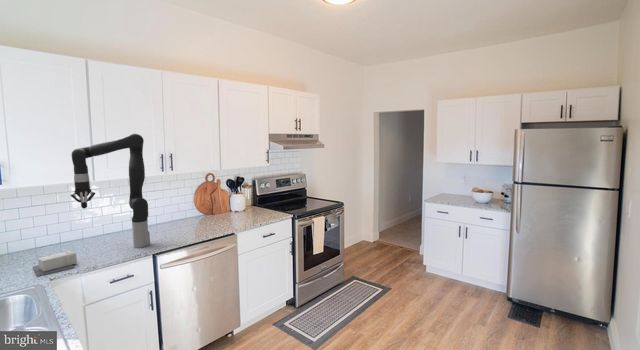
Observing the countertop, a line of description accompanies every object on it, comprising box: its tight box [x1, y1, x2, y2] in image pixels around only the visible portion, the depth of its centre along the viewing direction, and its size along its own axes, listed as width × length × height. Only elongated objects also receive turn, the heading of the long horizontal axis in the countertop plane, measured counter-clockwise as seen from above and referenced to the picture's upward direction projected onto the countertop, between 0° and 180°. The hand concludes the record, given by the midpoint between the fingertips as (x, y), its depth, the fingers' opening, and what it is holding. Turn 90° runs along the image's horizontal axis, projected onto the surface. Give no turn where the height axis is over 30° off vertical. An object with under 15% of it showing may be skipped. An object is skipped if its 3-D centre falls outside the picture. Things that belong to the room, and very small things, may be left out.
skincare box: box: [37, 250, 78, 272], centre depth 183 cm, size 8×7×16 cm
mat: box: [32, 264, 75, 278], centre depth 183 cm, size 16×18×1 cm
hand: (84, 208), depth 203 cm, fingers closed
